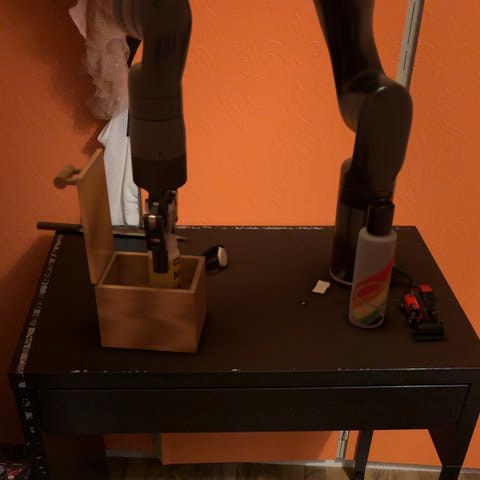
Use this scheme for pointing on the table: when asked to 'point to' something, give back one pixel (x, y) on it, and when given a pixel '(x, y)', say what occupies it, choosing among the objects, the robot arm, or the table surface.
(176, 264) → the supplement bottle
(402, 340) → the table surface
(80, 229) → the knife
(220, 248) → the watch
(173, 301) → the brown open rectangular box
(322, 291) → the card
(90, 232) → the lid
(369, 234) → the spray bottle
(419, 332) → the loader
